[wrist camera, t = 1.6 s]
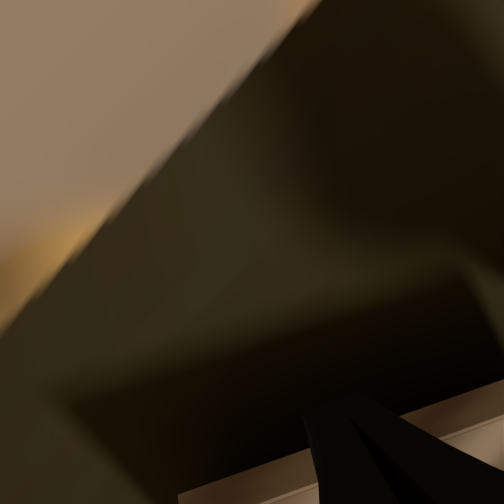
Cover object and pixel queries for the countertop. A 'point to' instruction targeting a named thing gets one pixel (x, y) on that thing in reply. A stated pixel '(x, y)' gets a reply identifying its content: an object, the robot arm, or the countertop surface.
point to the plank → (428, 418)
